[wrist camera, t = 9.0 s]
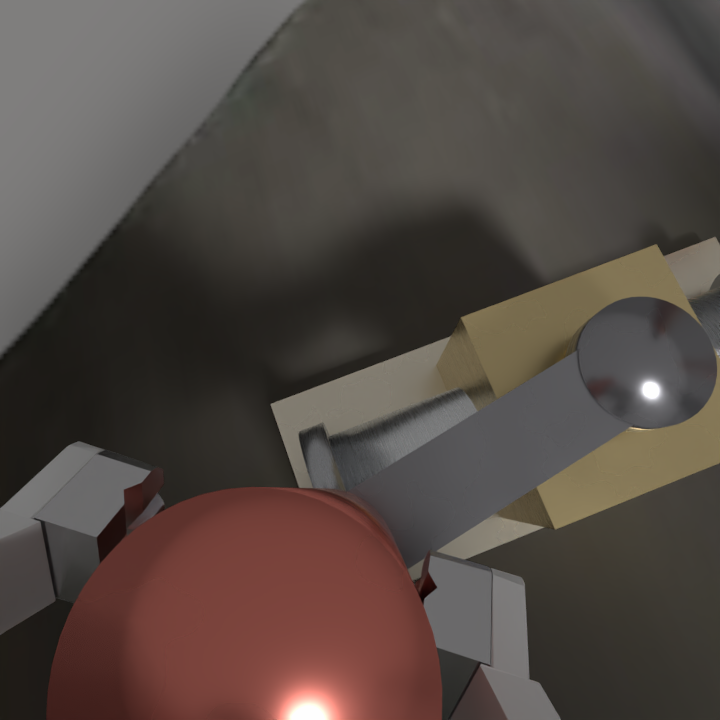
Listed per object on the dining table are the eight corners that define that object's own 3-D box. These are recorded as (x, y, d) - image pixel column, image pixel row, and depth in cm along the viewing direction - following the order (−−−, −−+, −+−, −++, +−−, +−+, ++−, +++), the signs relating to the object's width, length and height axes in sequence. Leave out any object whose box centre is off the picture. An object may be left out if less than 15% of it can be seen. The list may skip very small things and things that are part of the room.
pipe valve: (705, 244, 26) (865, 126, 18) (805, 418, 24) (1040, 380, 16) (273, 406, 25) (222, 363, 16) (342, 605, 23) (324, 674, 14)
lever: (639, 289, 16) (1042, -13, 7) (717, 390, 16) (1305, 222, 6) (239, 532, 15) (-15, 615, 5) (303, 656, 14) (151, 1030, 4)
